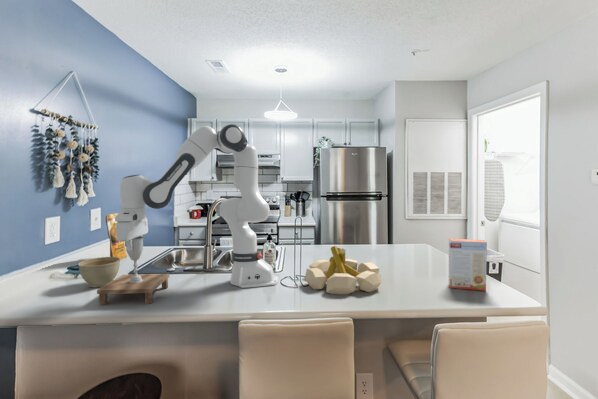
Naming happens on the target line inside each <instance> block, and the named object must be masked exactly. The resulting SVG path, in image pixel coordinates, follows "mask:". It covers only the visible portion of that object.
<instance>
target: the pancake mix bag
mask: <svg viewBox="0 0 598 399" xmlns="http://www.w3.org/2000/svg"><path fill="white" fill-rule="evenodd" d="M118 213H119V212H114V213H109V214H107V215H106V216H105V224H106V229H107V236H108V238H109V239H108V240H109V257H117V258H120V261H121V260H123V259H125V258H127V257H128V254H127V251H126V243H125V241H118V239H117V234H116V224H117V222H116V221H115V216H116V215H117V214H118Z"/></svg>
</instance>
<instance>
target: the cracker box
mask: <svg viewBox="0 0 598 399" xmlns="http://www.w3.org/2000/svg"><path fill="white" fill-rule="evenodd" d="M487 242H488V241H486V240H483V239H465V238H464V239H463V238H462V239H461V238H448V286H449V288H450V289H458V290H459V289H460V290H470V291H473V290H474V291H480V292H481V291H482V292H483V291H484V292H486V291H487V254H488V253H487V252H488V251H487V249H488V248H487V246H488V243H487Z"/></svg>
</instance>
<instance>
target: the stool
mask: <svg viewBox="0 0 598 399" xmlns="http://www.w3.org/2000/svg"><path fill="white" fill-rule="evenodd" d="M137 274H138V273H137ZM133 275H134V274H122V275H120V276H118V277H116V278H114V279H113V281H112V282H110V283H108V284H107V285H105V286H103V287H99V288H97V290H96V295H98V297H99V298H98V300H99V306H106V305H107V304H109V298H108V296H109V295H111V294H112V295H117V294H118V295H119V294H144V300H145V301H144V304H145V305H150V304H153V303H154V302H153V300H154V297H153V292H154V291H155V290H157V288H159V287H160V286H161V289H162V290H167V289H168V288H169V278H170V273H141V274H140V273H139V274H138V275H140V276H141V278H142V280H143V281H142V282H139V283H129V281H130V279H131V277H132V276H133Z"/></svg>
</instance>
